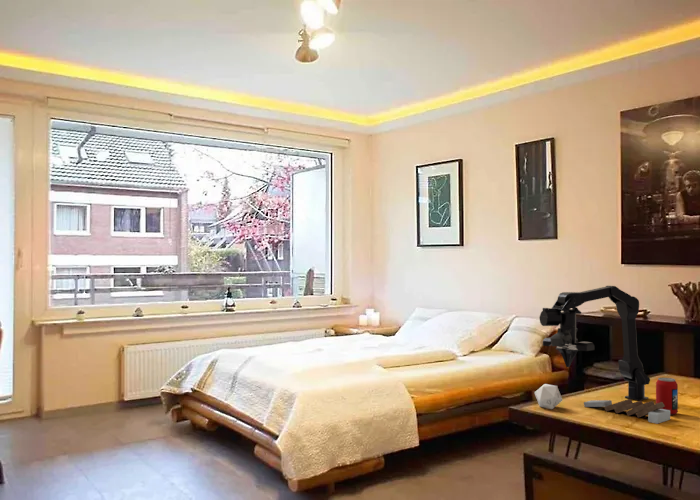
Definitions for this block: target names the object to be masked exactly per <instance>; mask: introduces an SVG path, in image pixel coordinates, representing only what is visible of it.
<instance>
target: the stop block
mask: <svg viewBox="0 0 700 500" xmlns="http://www.w3.org/2000/svg"><path fill="white" fill-rule="evenodd" d="M647 417H648V418H647V421H648V422H649V423H653V424H656V425H657V424H660V423H664V422H667V421H669V420H671V415H670V410H665V409H659V410H655V411H652V412H649V413H648V415H647Z"/></svg>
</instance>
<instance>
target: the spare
mask: <svg viewBox="0 0 700 500" xmlns="http://www.w3.org/2000/svg"><path fill="white" fill-rule="evenodd" d="M612 404H613V402H612V400H611V399H610V400H608V399H607V400H605V399H604V400H601V399H600V400H598V399H597V400H596V399H595V400H587V401H584V402H583V406H584V408H585V407H586V408H604V407H606V406H609V405H612Z"/></svg>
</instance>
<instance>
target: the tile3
mask: <svg viewBox="0 0 700 500" xmlns="http://www.w3.org/2000/svg"><path fill="white" fill-rule="evenodd" d="M654 404H655V402H654V401H653V400H651V401H647V402H645V403H643V404H642V405H640V406H637V407H635V408H632V409H629V410H626V411H625V413H626V415H627V416H628V417H630V416H634V415H636V413H638V412H640V411H642V410H644V409H646V408H648V407H650V406H652V405H654Z"/></svg>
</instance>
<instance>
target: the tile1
mask: <svg viewBox="0 0 700 500" xmlns="http://www.w3.org/2000/svg"><path fill="white" fill-rule="evenodd" d="M631 403H634V402H633V399H629V398H627V399H626V400H625V399H624V400H622V401H619V402H615V403H612V405H609V406H606V407H603V408H604V410H605V412H609V411H613V410H614V409H616V408H619V407H622V406H625V405H628V404H631Z"/></svg>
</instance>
